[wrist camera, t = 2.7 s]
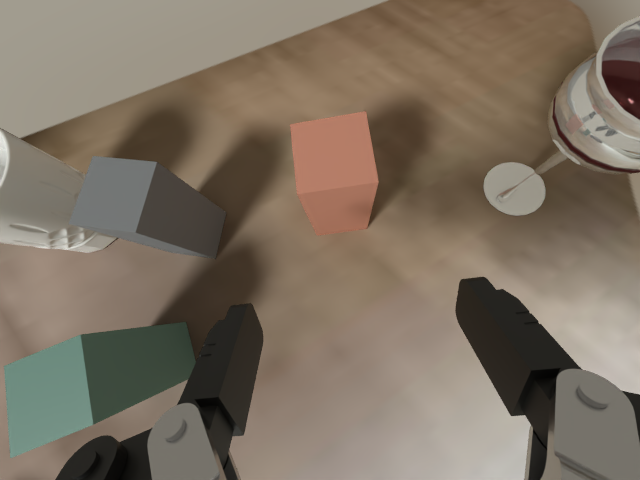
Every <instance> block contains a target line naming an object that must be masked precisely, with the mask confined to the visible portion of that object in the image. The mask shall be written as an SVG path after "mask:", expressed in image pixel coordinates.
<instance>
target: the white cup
mask: <svg viewBox="0 0 640 480" xmlns="http://www.w3.org/2000/svg"><path fill="white" fill-rule="evenodd" d="M85 177H86V174H84V173H82V172H80V171H78V170H76V169H75V168H73V167H71V166H70V165H68V164H66V163H64V162H63V161H61V160H59V159H57V158H55V157H53V156H51V155H50V154H48V153H46V152H44V151H42V150H40V149H38V148H36V147H35V146H33V145H31V144H29V143H27V142H25V141H23V140H22V139H20V138H18V137H16V136H14V135H12V134H10V133H9V132H7V131H5V130H3V129H1V128H0V243H5V244H12V245H21V246H30V247H38V248H48V249H64V250H72V251H79V252H85V253H91V252H94V251H98V250H101V249H104V248H105V247H107V246H108V245H109V244H111V243H112V242H113V241H114V240H116V239H117V237H114V236H110V235H107V234H103V233H99V232H96V231H92V230H89V229H85V228H81V227H78V226H74V225H71V224H69V221H70V218H71V215H72V213H73V210H74V207H75V204H76V202H77V199H78V196H79V193H80V191H81V188H82V185H83V182H84V180H85Z"/></svg>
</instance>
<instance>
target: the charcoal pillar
mask: <svg viewBox="0 0 640 480" xmlns="http://www.w3.org/2000/svg"><path fill="white" fill-rule="evenodd" d="M225 217H226V212H225V211H224V210H222V209H221V208H220V207H218V206H217V205H215V204H214V203H213V202H211V201H210V200H209V199H207V198H206V197H204V196H203V195H202V194H200V193H199V192H198V191H196V190H195V189H194V188H192V187H191V186H189V185H188V184H187V183H185V182H184V181H183V180H181V179H180V178H178V177H177V176H176V175H174V174H173V173H172V172H170V171H169V170H168V169H166V168H165V167H163V166H162V165H161V164H159V163H158V162H153V161H142V160H131V159H120V158H109V157H97V156H93V157H92V160H91V163H90V166H89V168H88V171H87V174H86V177H85V180H84V182H83V185H82V188H81V191H80V193H79V196H78V199H77V202H76V204H75V207H74V210H73V213H72V215H71V218H70V221H69V224H71V225H74V226H78V227H81V228H85V229H89V230H92V231H96V232H99V233H103V234H107V235H110V236H114V237H117V238H121V239H125V240H128V241H132V242H135V243H139V244H142V245H146V246H150V247H153V248H157V249H160V250H164V251H168V252H171V253H178V254H185V255H193V256H200V257H207V258H214V259H216V255H217V251H218V247H219V242H220V238H221V234H222V229H223V225H224V221H225Z"/></svg>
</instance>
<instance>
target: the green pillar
mask: <svg viewBox="0 0 640 480" xmlns="http://www.w3.org/2000/svg"><path fill="white" fill-rule="evenodd" d="M195 363H196V360H195V356H194V352H193V348H192V344H191V340H190V336H189V332H188V328H187V324H186V322H181V323H173V324H164V325H156V326H148V327H140V328H131V329H123V330H115V331H107V332H99V333H90V334H82V335H79V336H76V337H74V338H71V339H69V340H66V341H64V342H62V343H59V344H57V345H54V346H52V347H49V348H47V349H45V350H42V351H40V352H37V353H35V354H32V355H30V356H27V357H25V358H23V359H20V360H18V361H15V362H13V363H10V364H8V365H6V366H4V370H5V385H6V400H7V415H8V430H9V445H10V458H12V457H15V456H17V455H20V454H22V453H24V452H27V451H29V450H32V449H34V448H37V447H39V446H42V445H44V444H47V443H49V442H52V441H54V440H57V439H59V438H61V437H64V436H66V435H69V434H71V433H74V432H76V431H79V430H81V429H84V428H86V427H89V426H91V425H93V424H96V423H98V422H100V421H102V420H104V419H106V418H108V417H110V416H112V415H114V414H116V413H119V412H121V411H123V410H125V409H127V408H129V407H131V406H133V405H135V404H137V403H139V402H142V401H144V400H146V399H148V398H150V397H152V396H154V395H156V394H158V393H160V392H162V391H164V390H167V389H169V388H171V387H173V386H175V385H177V384H179V383H181V382H183V381H185V380H187V379H189V377H190V375H191V373H192V370H193V368H194V366H195Z"/></svg>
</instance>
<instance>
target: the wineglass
mask: <svg viewBox="0 0 640 480" xmlns="http://www.w3.org/2000/svg"><path fill="white" fill-rule="evenodd" d="M547 125H548V128H549V131H550V134H551V137H552V140H553V142H554V144H555V145H556V147H557V148H558V149H559V151H558V152H557V153H555V154H554V155H553V156H552V157H550V158H549V159H548V160H546V161H545V162H544V163H543V164H541V165H540V166H539V167H538V168H536V169H535V170H533V169H532V168H530V167H528V166H526V165H524V164H521V163H514V162H508V163H502V164H500V165H497V166H495V167H494V168H492V169H491V170H490V171H489V172H488V174H487V175H486V177H485V179H484V187H483V188H484V192H485V196H486V198H487V199H488V201H489V202H490V204H491V205H493V206H494V207H495V208H496V209H497V210H499V211H501V212H503V213H506V214H509V215H515V216H519V215H527V214H529V213H532V212H534V211H536V210H537V209H538V208H539V207H540V206H541V205H542V203H543V201H544V199H545V190H546V189H545V185H544V182H543V180H542V178H541V177H540V176H539V175H541V174H542V173H544V172H546V171H547V170H549V169H551V168H552V167H554V166H556V165H557V164H559V163H561V162H562V161H564V160H566V159H567V158H568V159H569V160H571V161H572V162H574V163H576V164H578V165H581V166H583V167H586V168H588V169H591V170H593V171H596V172H602V173H610V174H625V173H638V172H640V16H638V17H636V18H634V19H631V20H630V21H627V22H625V23H622V24H620V25H619V26H618V27H617V28H616V29H615V30H613V31H612V32H611V33H610V34H609V35H608V36H607V37H606V38H605V39H604V41H603V43H602V45H601V47H600V49H599V51H598V52H595V53H593V54H592V55H591V56H589V57H588V58H586V59H585V60H584V61H582V62H581V63H580V64H579V65H578V66H577V67H576V68H575V69H573V70H572V71H571V72H570V73H569V74H568V75H567V77H566V78H565V79H564V81H563V82H562V84H561V85H560V86H559V88H558V90H557V92H556V94H555V96H554V98H553V100H552V102H551V105H550V107H549V110H548V122H547Z"/></svg>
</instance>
